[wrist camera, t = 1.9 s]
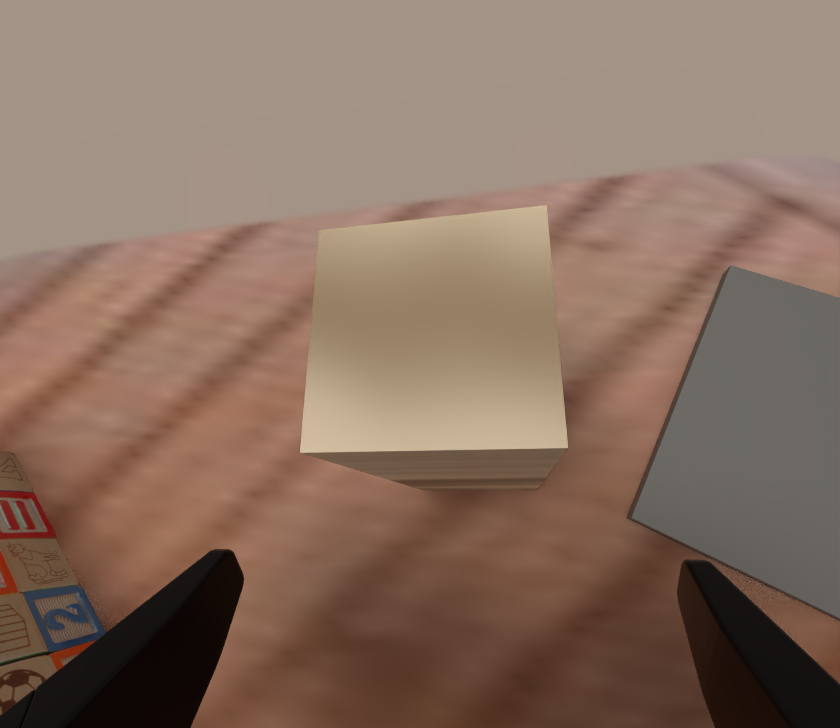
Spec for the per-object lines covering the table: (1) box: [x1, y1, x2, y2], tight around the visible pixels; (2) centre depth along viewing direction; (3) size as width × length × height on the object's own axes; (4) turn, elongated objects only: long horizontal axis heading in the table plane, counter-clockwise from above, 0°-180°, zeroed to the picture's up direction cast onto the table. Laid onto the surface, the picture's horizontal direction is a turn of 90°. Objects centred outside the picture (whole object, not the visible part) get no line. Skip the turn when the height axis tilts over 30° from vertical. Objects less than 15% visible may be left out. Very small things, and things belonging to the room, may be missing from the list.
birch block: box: [300, 205, 568, 490], centre depth 15 cm, size 5×5×13 cm
